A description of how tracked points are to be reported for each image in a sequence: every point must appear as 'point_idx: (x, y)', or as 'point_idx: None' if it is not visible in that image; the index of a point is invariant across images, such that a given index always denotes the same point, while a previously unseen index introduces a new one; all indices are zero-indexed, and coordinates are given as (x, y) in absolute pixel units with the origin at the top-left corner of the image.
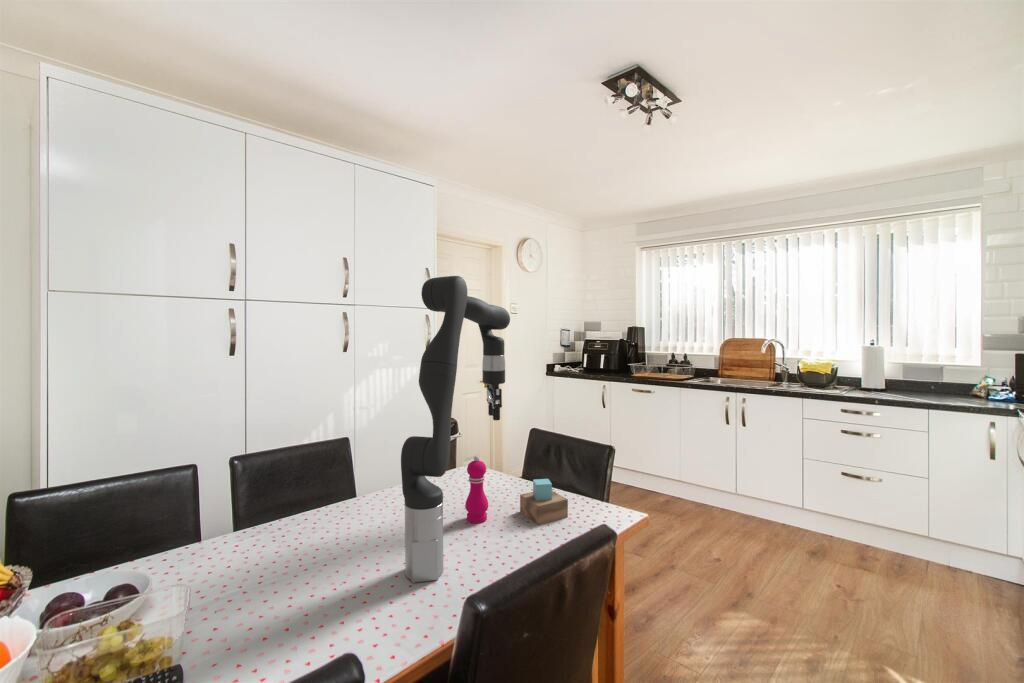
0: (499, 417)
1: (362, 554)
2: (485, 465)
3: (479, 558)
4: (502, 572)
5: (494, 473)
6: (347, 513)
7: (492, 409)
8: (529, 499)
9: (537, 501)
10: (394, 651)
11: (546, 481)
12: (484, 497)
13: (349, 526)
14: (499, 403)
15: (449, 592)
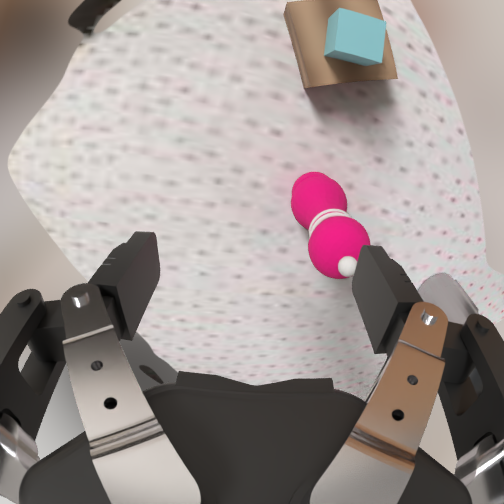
0: (386, 257)
1: (357, 349)
2: (354, 227)
3: (444, 225)
4: (481, 207)
5: (41, 112)
6: (219, 368)
7: (139, 278)
8: (352, 78)
9: (371, 66)
10: (499, 310)
11: (362, 23)
12: (340, 197)
13: (267, 365)
14: (440, 348)
15: (477, 271)
